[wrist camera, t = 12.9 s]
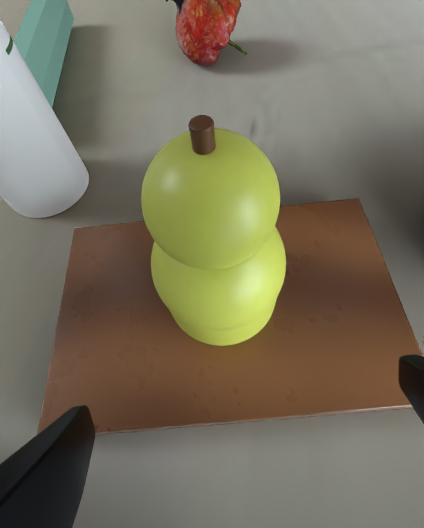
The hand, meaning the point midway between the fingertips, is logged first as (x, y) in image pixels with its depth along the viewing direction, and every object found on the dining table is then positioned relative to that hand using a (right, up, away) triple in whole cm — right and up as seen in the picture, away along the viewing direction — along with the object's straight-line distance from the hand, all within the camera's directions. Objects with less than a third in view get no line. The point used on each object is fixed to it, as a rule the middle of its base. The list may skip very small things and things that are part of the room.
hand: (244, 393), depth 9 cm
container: (-20, +26, +28) cm, 43 cm away
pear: (0, +2, +10) cm, 10 cm away
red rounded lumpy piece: (-1, +28, +27) cm, 39 cm away
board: (0, 0, +12) cm, 12 cm away
